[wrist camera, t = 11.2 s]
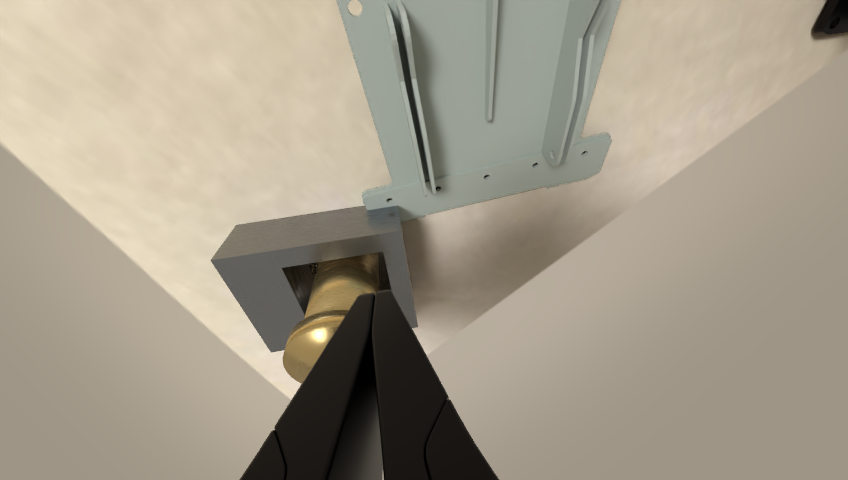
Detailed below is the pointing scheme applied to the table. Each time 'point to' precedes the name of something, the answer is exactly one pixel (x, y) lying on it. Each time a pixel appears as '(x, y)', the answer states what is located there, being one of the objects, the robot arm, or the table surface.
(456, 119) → the metal bracket
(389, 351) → the robot arm
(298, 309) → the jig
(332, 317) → the knob
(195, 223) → the table surface
